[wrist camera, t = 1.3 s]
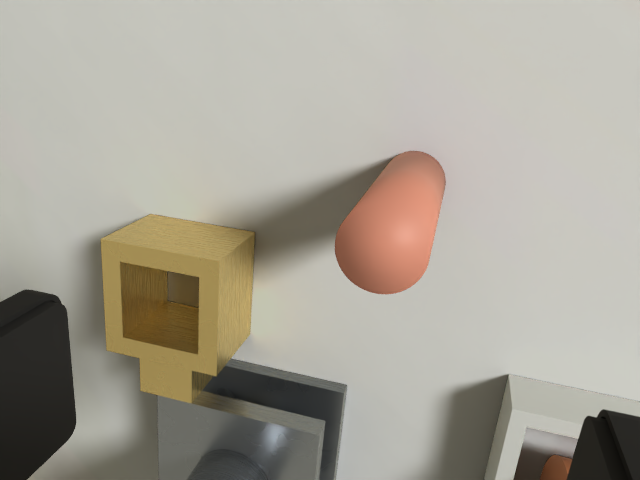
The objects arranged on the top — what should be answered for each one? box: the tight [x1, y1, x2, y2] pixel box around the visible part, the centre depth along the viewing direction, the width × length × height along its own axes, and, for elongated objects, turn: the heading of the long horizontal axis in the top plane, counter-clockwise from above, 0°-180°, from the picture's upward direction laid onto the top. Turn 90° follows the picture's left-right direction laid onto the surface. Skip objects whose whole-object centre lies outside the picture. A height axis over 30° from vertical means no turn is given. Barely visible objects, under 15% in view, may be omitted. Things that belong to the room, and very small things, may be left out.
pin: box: [335, 151, 446, 294], centre depth 22 cm, size 3×3×10 cm
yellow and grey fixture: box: [101, 214, 347, 480], centre depth 26 cm, size 12×18×15 cm
